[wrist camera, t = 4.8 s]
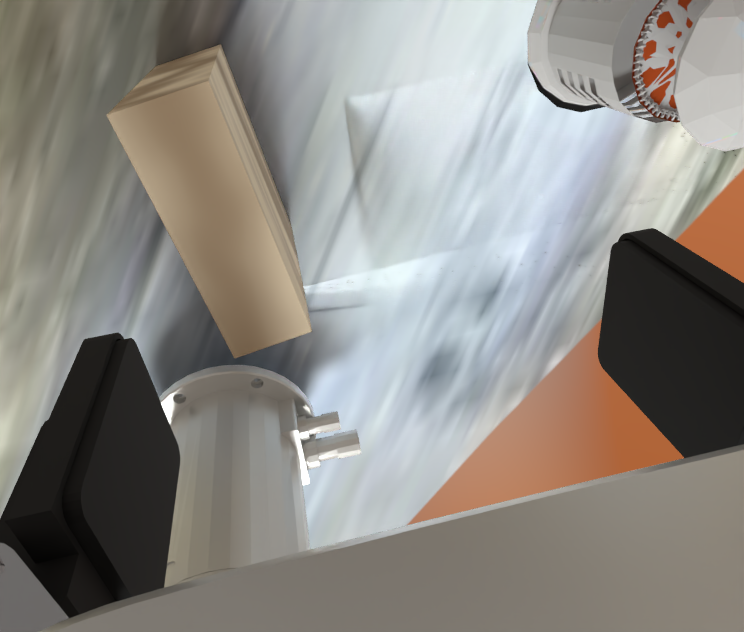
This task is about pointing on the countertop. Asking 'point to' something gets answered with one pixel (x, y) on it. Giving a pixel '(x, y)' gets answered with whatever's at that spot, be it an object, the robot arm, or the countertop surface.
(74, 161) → the countertop surface
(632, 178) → the countertop surface
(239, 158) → the maple block
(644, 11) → the french press
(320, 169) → the countertop surface
